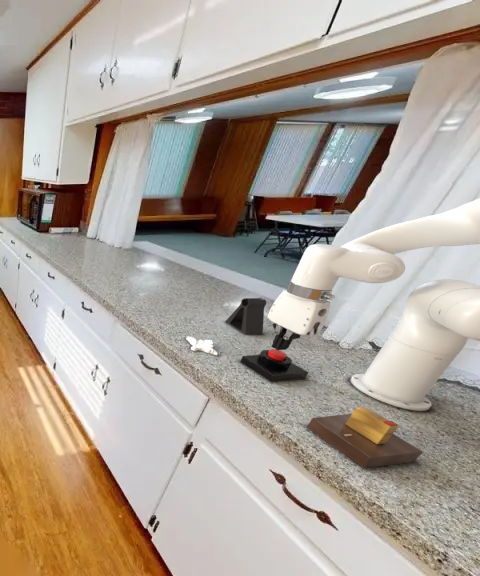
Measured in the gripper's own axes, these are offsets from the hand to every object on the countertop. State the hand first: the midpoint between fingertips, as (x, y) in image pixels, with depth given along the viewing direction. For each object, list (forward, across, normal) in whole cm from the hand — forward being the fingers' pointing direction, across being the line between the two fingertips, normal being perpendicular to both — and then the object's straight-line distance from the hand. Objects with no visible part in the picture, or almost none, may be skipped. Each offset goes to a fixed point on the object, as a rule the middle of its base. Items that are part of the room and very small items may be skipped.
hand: (278, 348), depth 85 cm
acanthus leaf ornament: (+7, +12, +12) cm, 18 cm away
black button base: (+7, -1, +1) cm, 7 cm away
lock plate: (+7, -25, +8) cm, 27 cm away
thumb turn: (+4, -25, +8) cm, 27 cm away
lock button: (+3, 0, 0) cm, 3 cm away
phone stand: (+7, +21, -13) cm, 26 cm away
